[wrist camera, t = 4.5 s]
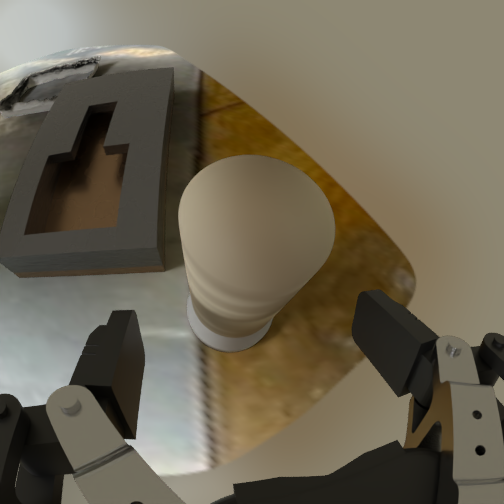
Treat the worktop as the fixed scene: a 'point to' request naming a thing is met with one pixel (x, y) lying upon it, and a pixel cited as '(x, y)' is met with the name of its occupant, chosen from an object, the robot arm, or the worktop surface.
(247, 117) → the worktop surface
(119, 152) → the keyhole board
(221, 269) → the keyhole peg
